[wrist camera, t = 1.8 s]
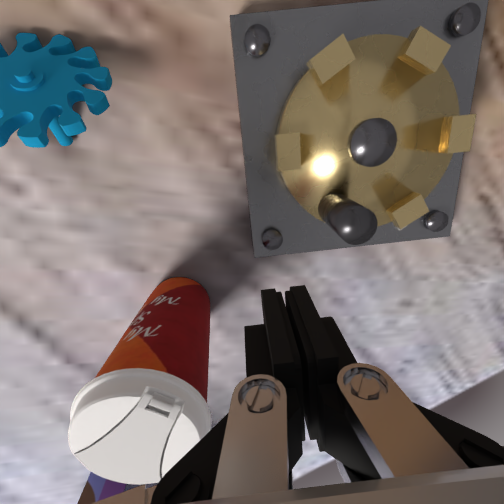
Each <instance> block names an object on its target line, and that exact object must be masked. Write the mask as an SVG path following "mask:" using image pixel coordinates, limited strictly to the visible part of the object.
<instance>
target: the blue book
mask: <svg viewBox="0 0 504 504" xmlns="http://www.w3.org/2000/svg"><path fill="white" fill-rule="evenodd" d="M125 486H126V483H120V482H116V481H112V480H109V479H106V478H103V477H100V476H98V475H96V474H94V473H93V472H91V473H90V476H89V478H88V480H87V483H86V485H85V487H84V490H83V492H82V494H81V497H80V499H79V501H78V504H92V503H94V502H97V501H100V500H103V499H105V498H108V497H111V496H114V495H116V494H119V493H122V492H124V490H125Z"/></svg>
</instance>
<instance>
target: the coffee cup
mask: <svg viewBox="0 0 504 504" xmlns="http://www.w3.org/2000/svg"><path fill="white" fill-rule="evenodd" d="M209 336H210V300H209V296H208V294H207V292H206V290H205V289H204V288H203V286H201V285H200V284H199V283H198V282H196V281H194V280H192V279H189V278H185V277H174V278H170V279H167V280H165V281H163V282H162V283H160V284H159V285H158V286H157V287H156V288H155V290H154V291H153V292H152V294H151V295H150V296H149V298H148V299H147V301H146V302H145V304H144V305H143V307H142V308H141V309H140V311H139V312H138V314H137V315H136V317H135V318H134V320H133V321H132V323H131V324H130V326H129V327H128V329H127V330H126V332H125V333H124V335H123V336H122V338H121V339H120V341H119V342H118V344H117V345H116V347H115V348H114V350H113V351H112V353H111V354H110V356H109V357H108V359H107V361H106V362H105V364H104V365H103V367H102V368H101V370H100V371H99V373H98V374H97V376H96V377H95V378H94V379H93V380H91V381H90V382H88V383H87V384H86V385H85V386H84V387H83V388H82V389H81V390H80V391H79V392H78V394H77V395H76V397H75V398H74V401H73V403H72V406H71V412H70V420H71V422H70V425H69V431H68V441H69V446H70V449H71V452H72V454H73V455H74V456H75V457H76V458H77V459H78V460H79V461H80V463H82V464H83V465H84V466H85V467H86V468H87V469H88V470H90V471H91V472H93V473H94V474H96V475H98V476H100V477H103V478H106V479H109V480H112V481H116V482H120V483H126V484H139V485H140V484H151V483H158V482H159V481H160V480H161V479H162V478H163V476H164V475H165V474H166V473H167V472H168V471H169V470H170V469H171V468H172V467H173V466H174V465H175V464H176V463H177V462H178V461H179V460H180V459H181V458H182V457H183V456H184V455H185V454H186V453H188V452H189V451H190V450H191V449H192V448H193V447H194V446H195V445H196V444H197V443H198V442H199V441H200V440H201V439H202V438H203V437H204V436H205V435H206V434H207V433H208V432H209V431H210V430H211V423H212V422H211V413H210V409H209V406H208V405H207V387H208V362H209Z"/></svg>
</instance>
